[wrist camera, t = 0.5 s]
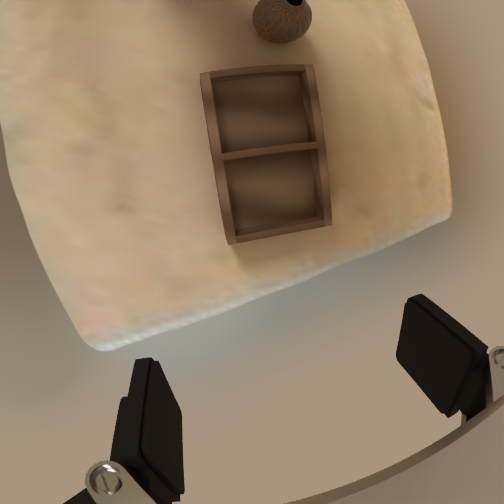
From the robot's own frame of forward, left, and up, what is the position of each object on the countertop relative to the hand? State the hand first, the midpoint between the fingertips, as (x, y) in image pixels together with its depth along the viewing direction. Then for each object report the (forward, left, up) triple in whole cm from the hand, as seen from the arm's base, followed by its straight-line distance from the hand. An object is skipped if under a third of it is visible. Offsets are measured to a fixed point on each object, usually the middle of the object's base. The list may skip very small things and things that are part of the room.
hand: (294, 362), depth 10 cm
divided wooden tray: (-6, +6, -29) cm, 30 cm away
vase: (-23, +10, -29) cm, 39 cm away
